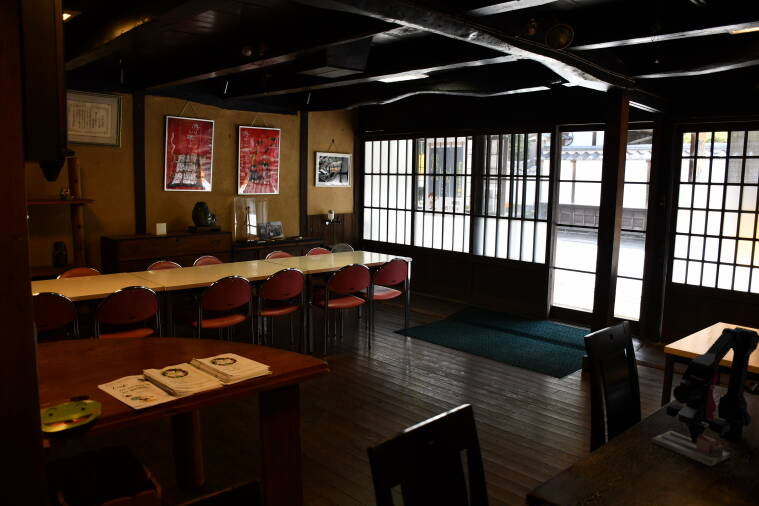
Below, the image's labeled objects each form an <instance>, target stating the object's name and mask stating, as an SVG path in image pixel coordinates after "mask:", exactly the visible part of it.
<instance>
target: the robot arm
mask: <svg viewBox="0 0 759 506" xmlns="http://www.w3.org/2000/svg"><path fill="white" fill-rule="evenodd" d="M758 345H759V333H758V331H756V330H753V329H748V328H744V327H741V326H735V327H734V328H730V327H725V328H723V329H722V331H721V334H720V335H719V336H718V337H717V339H716V340H715V341H714V342H713V344H712V345H711V346H710V347H709V348H708V350H707V351H706V352H705V353H703V354H699V355H697V356H695V358H693V359H692V360H691V361H690V362H689V363H688V365H687V367H686V369H685V371H684V373H683V375H682V377H681V379H682V380H683V381H680V382H679V385H677V386H675V388H674V389H673V390H672V391H673V395H672V396H673V397H674V399H675V401H676V402H678V403H680V404H685V406H683V405H680V404H678V403H675V404H671V405H669V406H667V407H666V409H665V415H667V416H670V417H672V418H675V417H678V421H679V423H681V424H682V423H683V424H684V425H685V426H686V427H687V428H688V432H689V435H690V438H692V442H693V443H697V438H699V437H701V436H703V433H704V432H705V431H706V429H709V430H710V431H711V432H713V433H716V434H718V436H719V437H721V438H723V439H726V440H728V441H731V442H735V443H740V442H743V441H744V440H747V437H746V436H743V432H744V427H749V426H750V425H751V423H752V416H751V415H750V413H749V411H748V403H747V401H746V398H745V396H744V393H745V386H746V382H747V374H748V369H749V363H750V356H751V355H752V354H753V353H754V352H755V351H756V350H757V348H758ZM731 350H732V351H733V356H732V362H731V368H730V374H729V378H728V386H727V390H726V393H725V394H724V395H721V396H720V397H719V398H718V399H719V401H718V404H717V413H718V418H714V419H713V420H710V419H708V418H707V417H709V413H708V405H710V404H711V402H710V401H709V395H710V385H712V384H714V382H713V381H712V380H713V379H714V378H715V376H716V375H718V374H717V373H718V372H719V364H720V363H721V362H722V360H723V359H724V358H725V357H726V355H727V354H728V353H729V352H730V351H731Z"/></svg>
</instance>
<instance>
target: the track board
mask: <svg viewBox="0 0 759 506" xmlns="http://www.w3.org/2000/svg"><path fill="white" fill-rule="evenodd" d="M651 443H653V444H654V445H657V444H658V446H660V447H663V448H665V449H667V450H670V451H673V452H674V451H675V452H674V453H677V454H679V453H680V454H679V455H682V456H684V455H685V457H687V458H689V457H690V458H689V459H692V460H693V461H696V460H697V462H699V461H700V462H699V463H701V462H702V464H703V465H707V466H709V467H712V466H714V465H717V464H718V463H721V462H723V461H724V460H727V459H729V458H730V457H731V453H730V452H728V451H726V450H724V445H722V444H719V445H717V446H716V445H715V447H714V448H712V453H711V454H709V453H707V452H704V451H701V450H699V449H696V447H697V443H693V442H692V438H691V437H689V436H686V435H684V434H681V433H678V432H675V431H673V430H669V431H667V432H664V433H662V434H659V435H657V436H654V437H651Z"/></svg>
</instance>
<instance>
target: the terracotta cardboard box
mask: <svg viewBox="0 0 759 506" xmlns="http://www.w3.org/2000/svg"><path fill="white" fill-rule="evenodd" d="M716 443H717V439H715V438H712V437H709V436H707V435H704V434H702V435H701V436H700V437H699V438H697V447H696V449H699V450H701V451H704V452H707V453H709V454H711V453H712V448H714V447H716Z"/></svg>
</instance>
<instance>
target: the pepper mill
mask: <svg viewBox="0 0 759 506" xmlns="http://www.w3.org/2000/svg"><path fill="white" fill-rule="evenodd" d="M717 375H718V374H716V376H715V378H714V379H713V380H712V381H713V382H714V384H712V385H710V395H709V401H710V402H711V404H710V405H708V413H709V417H707V418H708V419H710V420H715V414H714V413H715V412H716V410H717V404H716V401H715V399H714V389H716V383H717V382H718V376H717Z"/></svg>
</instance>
